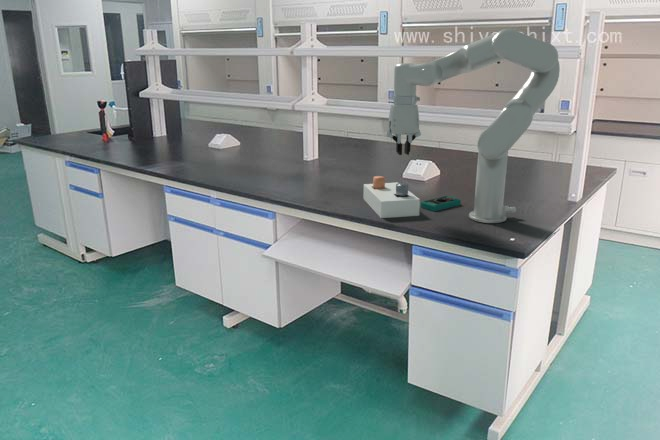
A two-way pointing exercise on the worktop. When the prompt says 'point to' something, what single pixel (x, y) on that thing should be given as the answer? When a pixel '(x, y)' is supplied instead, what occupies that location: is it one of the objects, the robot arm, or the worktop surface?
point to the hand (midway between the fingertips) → (403, 153)
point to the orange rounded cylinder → (378, 182)
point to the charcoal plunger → (401, 190)
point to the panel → (390, 201)
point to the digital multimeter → (440, 203)
